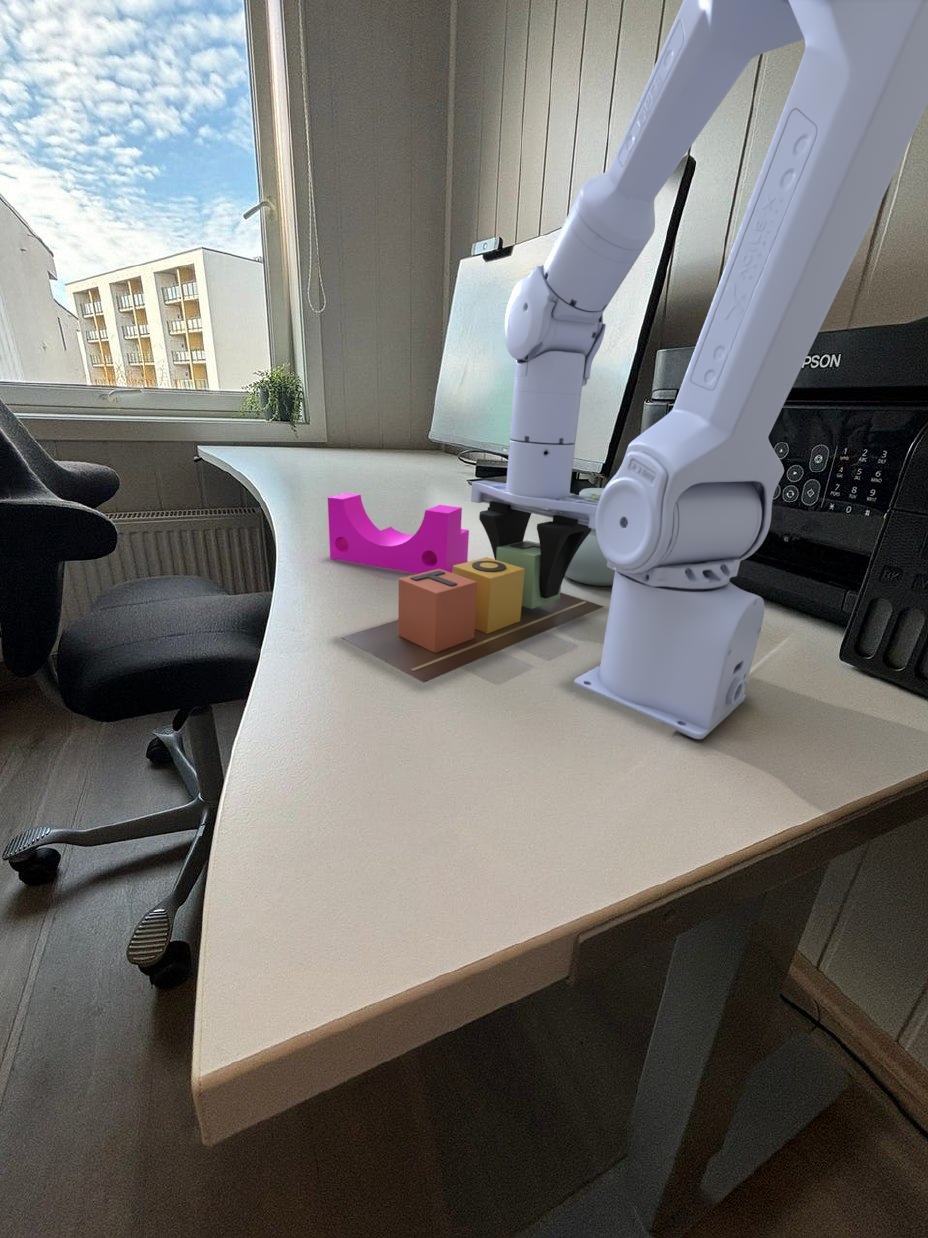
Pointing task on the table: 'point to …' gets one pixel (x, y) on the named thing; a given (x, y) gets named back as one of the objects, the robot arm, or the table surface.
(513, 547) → the green square block
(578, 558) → the air freshener
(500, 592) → the yellow cube
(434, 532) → the toy block
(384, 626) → the word board
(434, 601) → the orange letter t block
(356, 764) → the table surface
